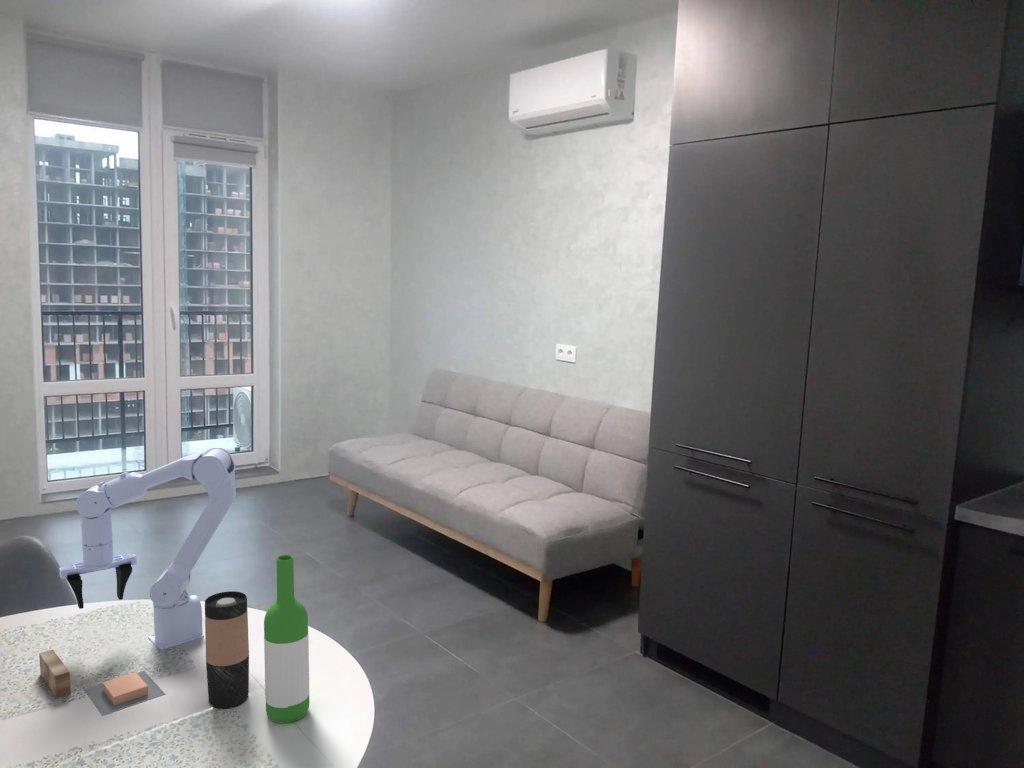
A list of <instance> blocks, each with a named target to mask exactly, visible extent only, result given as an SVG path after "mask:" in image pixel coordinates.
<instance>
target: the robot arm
mask: <svg viewBox="0 0 1024 768" xmlns="http://www.w3.org/2000/svg"><path fill="white" fill-rule="evenodd" d="M203 453H204V454H203ZM178 478H185V479H187V480H190V481H193V480H194V479H196V480H197V481H198V482H199V483H200V484H201V486H202V487H203V488H204V489H205V491H206V493H207V495H208V499H209V501H208V502H207V504H206V505H205V507H204V509H203V510H202V512H201V514H199V515H200V516H199V517H198V519H197V521H196V522H195V524H194V525H193V527H192V528H191V531H189V533H188V535H187V537H186V539H185V540H184V542H183V543H182V546H180V549H179V550H178V552H177V554H176V555H175V557H174V559H173V560H172V562H171V564H170V565H169V566H167V567H166V568H164V570H163V571H162V573H160V574H161V575H160V576H159V577H158V579H157V580H156V581H155V582H154V583H153V584H152V585H151V587H150V589H149V599H150V600H151V602H152V605H153V627H154V632H153V633H154V634H151V635H149V636H148V639H149V640H150V642H152V643H153V645H155V647H156V648H157V649H159V650H165V649H168V648H172V647H175V646H179V645H182V644H186V643H189V642H192V641H196V640H198V639H203V638H205V634H203V633H204V632H203V607H202V603H201V600H200V598H199V597H198V595H196V594H191V595H189V593H188V590H187V587H188V586H189V585H190V582H191V576H192V575H191V574H192V571H193V569H194V568H195V566H196V565H197V563H198V561H199V559H200V558H201V556H202V554H203V553H204V551H205V549H206V548H207V546H208V544H209V543H210V541H211V539H212V538H213V536H214V535H215V532H216V530H217V529H218V527H219V526H220V524H221V522H222V521H223V519H224V518H225V515H226V514H227V513H228V511H229V509H230V507H231V506H232V504H233V502H234V501H235V499H236V496H237V492H236V491H237V490H236V463H235V461H234V460H233V457H232V455H231V453H230V452H229V451H228V450H226V449H225V448H223V447H219V446H218V447H211V448H209V449H207V451H205V450H202V451H197V452H195V453H193V454H189V455H186V456H183V457H181V458H179V459H176V460H174V461H172V462H168V463H167V464H164V465H162V466H160V467H157V468H155V469H153V470H150V471H148V472H146V473H143V474H141V473H139V472H135V471H133V472H130V473H129V472H128V471H124V472H122V473H120V474H119V477H117V478H114V479H111V480H109V481H107V482H105V481H104V480H103V481H101V482H98V483H97V485H94V486H91V487H90V488H89V489H87V490H85V491H84V492H82V493H80V495H79V496H78V497H77V499H76V502H75V509H76V511H77V512H78V514H79V515H80V521H81V524H80V525H81V526H80V527H81V541H82V543H81V545H82V561H80V562H76V563H73V564H71V565H66V566H62V567H59V569H58V570H59V571H58V572H59V578H60V579H61V580H65V579H66V581H67V582H68V584H69V585H70V587H71V589H72V592H73V593H74V597H75V599H76V602H77V603H76V604H77V608H79V610H80V609H84V607H85V606H84V598H83V580H82V576H81V575H84V574H90V573H94V572H100V571H105V570H109V569H114V568H115V574H116V577H115V578H116V596H117V599H118V600H119V601H122V600H123V599H124V593H125V589H126V586H127V583H128V580H129V579H130V577H131V575H132V572H133V567H132V566H135V565H137V555H136V554H135V553H129V554H123V555H122V554H121V555H114V545H113V542H114V539H113V521H112V520H113V519H112V509H114V508H117V507H120V506H123V505H126V504H128V503H131V502H132V501H133V502H134V501H135V500H137V499H141V498H143V497H145V495H146V492H147V490H148V489H150V488H153V487H156V486H159V485H161V484H164V483H166V482H169V481H173V480H175V479H178Z"/></svg>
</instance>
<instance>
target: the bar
mask: <svg viewBox="0 0 1024 768" xmlns="http://www.w3.org/2000/svg"><path fill="white" fill-rule="evenodd" d="M38 654H39V656H38V657H39V670H40V676H41V677H42V679H43V680H44V682H45V683H46V684H47V686H48V688H49V689H50V691H51V692H52V694H53V695H54V697H55V698H56V699H58V698H63V697H65V696H68V695H71V693H72V691H71V690H72V689H71V674H70V673H71V672H70V670H69V668H67V666H66V665H65V664H64V662H63V661H62V660H61V658H60V657H59V655H58V654H57V653H56V652H55V650H54V649H51V650H47V651H43V652H39V653H38Z"/></svg>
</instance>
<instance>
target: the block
mask: <svg viewBox="0 0 1024 768" xmlns="http://www.w3.org/2000/svg"><path fill="white" fill-rule="evenodd" d="M137 673H138V672H136V671H134V672H132V673H128V674H125V675H122V676H119V677H118V676H117V677H116V678H113V679H109V680H106V681H103V682H102V683H101V684H102V686H103V691H104V693H105V694H106V695H107V697H108V698H109V699H110V701H111V702H112V703H113V704H114V705H117V704H120V703H123V702H126V701H129V700H132V699H135V698H138V697H141V696H144V695H147V694H148V686H147V684H146V683H145V682H144V681H143V680H142V679H141V678H140V677H139V675H138V674H137Z"/></svg>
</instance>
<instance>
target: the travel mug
mask: <svg viewBox="0 0 1024 768" xmlns="http://www.w3.org/2000/svg"><path fill="white" fill-rule="evenodd" d="M248 613H249V612H248V597H247V595H246V593H243V592H241V591H235V590H234V591H233V590H232V591H223V592H216V593H215V594H214V593H213V594H212V595H210V596H208V597H206V599H205V600H204V631H205V632H204V633H205V634H204V638H205V639H204V640H205V666H206V679H207V681H206V682H207V695H208V696H207V697H208V703H209V704H210V706H211V707H212V708H214V709H216V710H227V709H229V710H230V709H234V708H237V707H239V706H241V705H243V704H244V703H246V702H247V700H248V699H249V693H250V692H249V689H250V675H249V674H250V673H249V672H250V649H249V647H250V645H249V643H250V642H249V618H248V616H249V615H248Z"/></svg>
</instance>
